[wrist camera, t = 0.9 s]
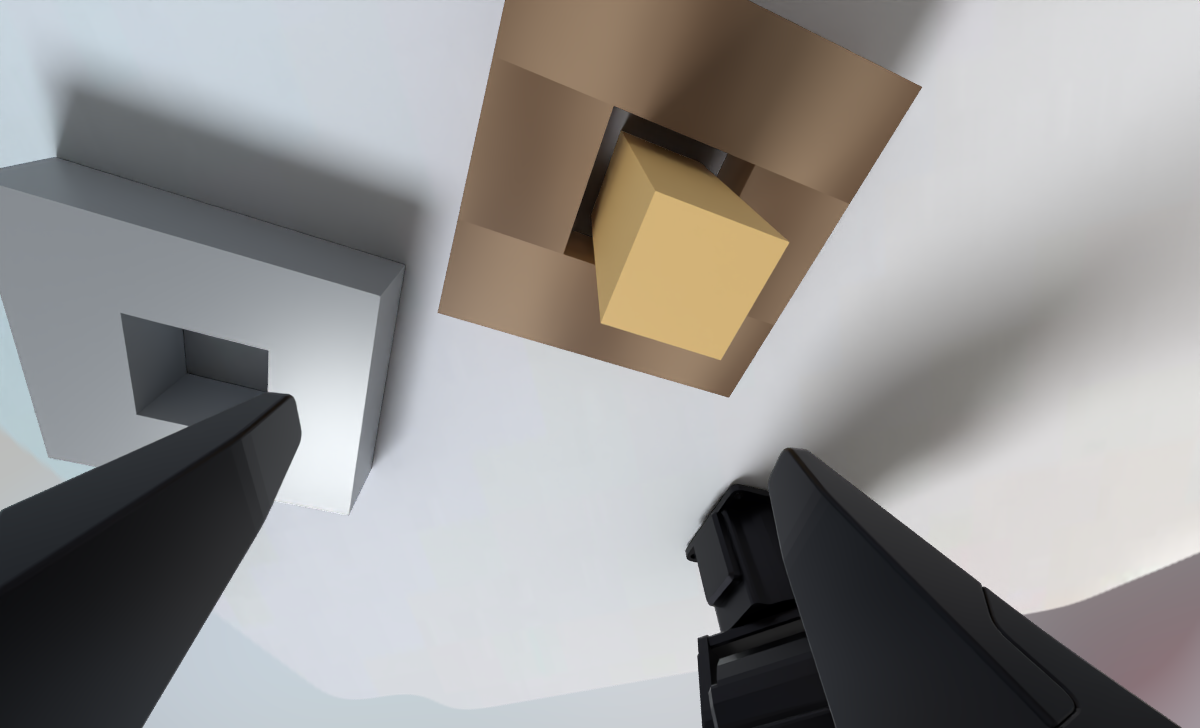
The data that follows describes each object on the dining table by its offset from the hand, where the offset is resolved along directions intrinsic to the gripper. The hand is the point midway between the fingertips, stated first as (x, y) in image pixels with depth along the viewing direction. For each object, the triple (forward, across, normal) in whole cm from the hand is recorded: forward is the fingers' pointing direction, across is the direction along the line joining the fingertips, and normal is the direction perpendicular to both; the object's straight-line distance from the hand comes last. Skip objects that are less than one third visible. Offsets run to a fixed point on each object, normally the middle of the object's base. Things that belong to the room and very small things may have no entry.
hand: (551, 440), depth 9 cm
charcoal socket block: (+12, +13, +7) cm, 19 cm away
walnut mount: (+12, -3, -2) cm, 13 cm away
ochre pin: (+12, -3, -2) cm, 13 cm away
